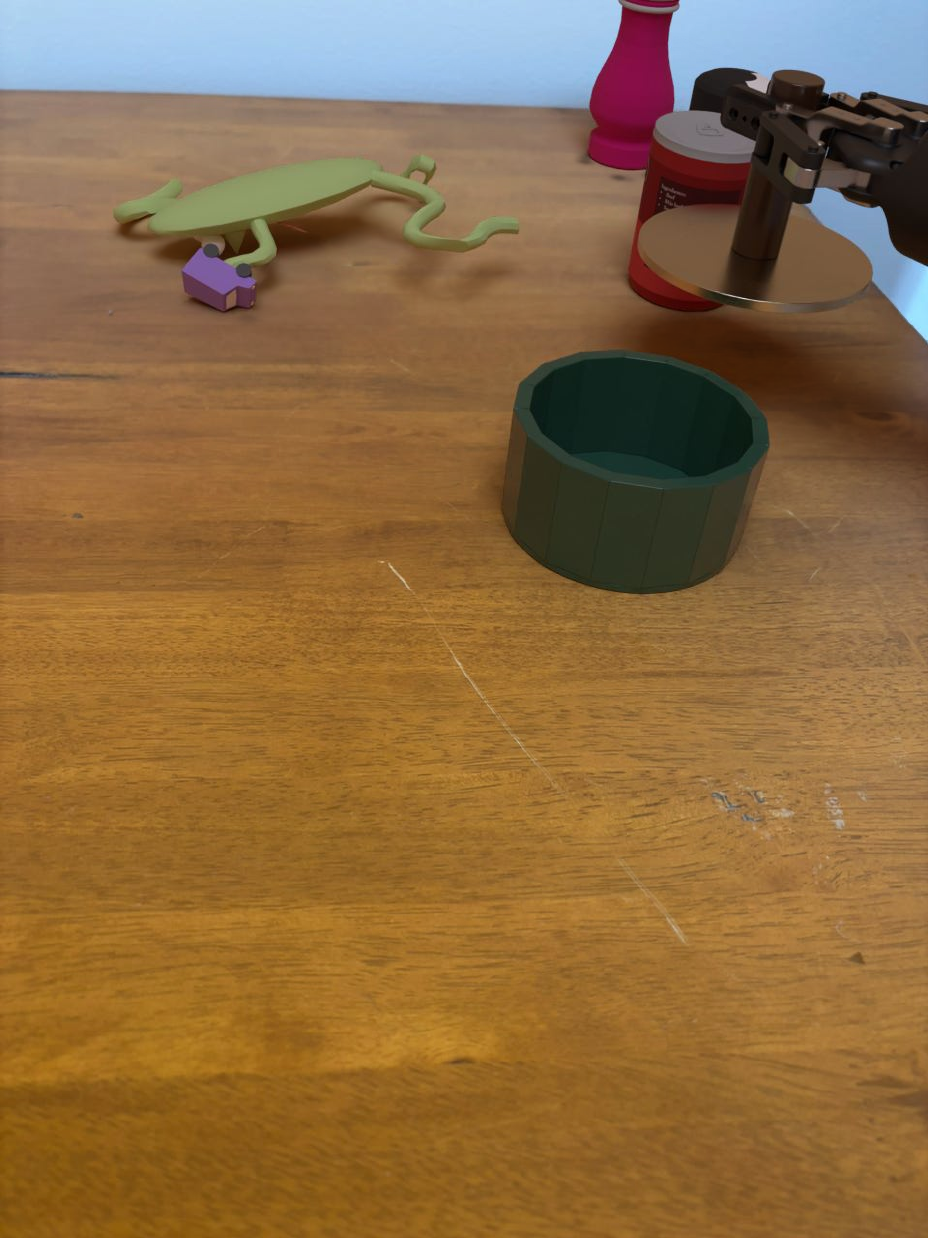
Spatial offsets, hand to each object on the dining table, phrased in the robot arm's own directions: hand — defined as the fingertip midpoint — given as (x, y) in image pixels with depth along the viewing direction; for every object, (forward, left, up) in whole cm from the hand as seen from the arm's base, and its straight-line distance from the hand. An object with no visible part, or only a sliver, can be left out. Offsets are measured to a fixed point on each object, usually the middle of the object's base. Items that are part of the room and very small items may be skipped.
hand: (749, 99), depth 63 cm
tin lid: (-1, +3, -8) cm, 9 cm away
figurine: (+22, -17, -16) cm, 32 cm away
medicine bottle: (-8, -18, -16) cm, 26 cm away
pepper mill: (-7, -35, -16) cm, 40 cm away
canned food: (-3, -10, -16) cm, 20 cm away
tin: (+10, +16, -16) cm, 25 cm away
